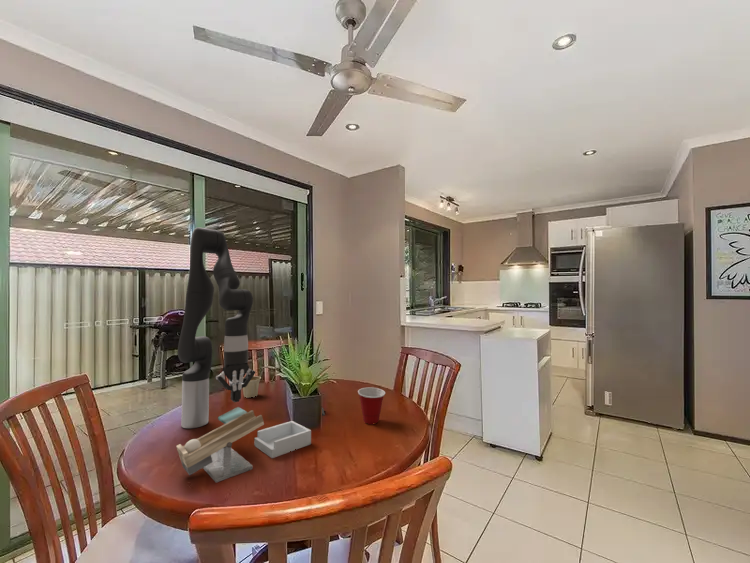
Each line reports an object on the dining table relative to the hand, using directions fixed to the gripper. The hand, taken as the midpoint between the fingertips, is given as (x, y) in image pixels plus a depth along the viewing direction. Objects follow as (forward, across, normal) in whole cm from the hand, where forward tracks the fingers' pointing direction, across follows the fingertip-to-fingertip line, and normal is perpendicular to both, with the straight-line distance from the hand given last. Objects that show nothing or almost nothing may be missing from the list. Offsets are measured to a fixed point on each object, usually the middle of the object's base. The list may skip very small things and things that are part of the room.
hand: (235, 401), depth 112 cm
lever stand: (+14, +8, +11) cm, 20 cm away
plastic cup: (+15, -46, +17) cm, 51 cm away
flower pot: (+14, -28, -49) cm, 58 cm away
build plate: (+15, -38, -7) cm, 41 cm away
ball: (+6, +16, +11) cm, 21 cm away
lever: (+10, +7, +5) cm, 13 cm away
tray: (+14, -11, +11) cm, 21 cm away
